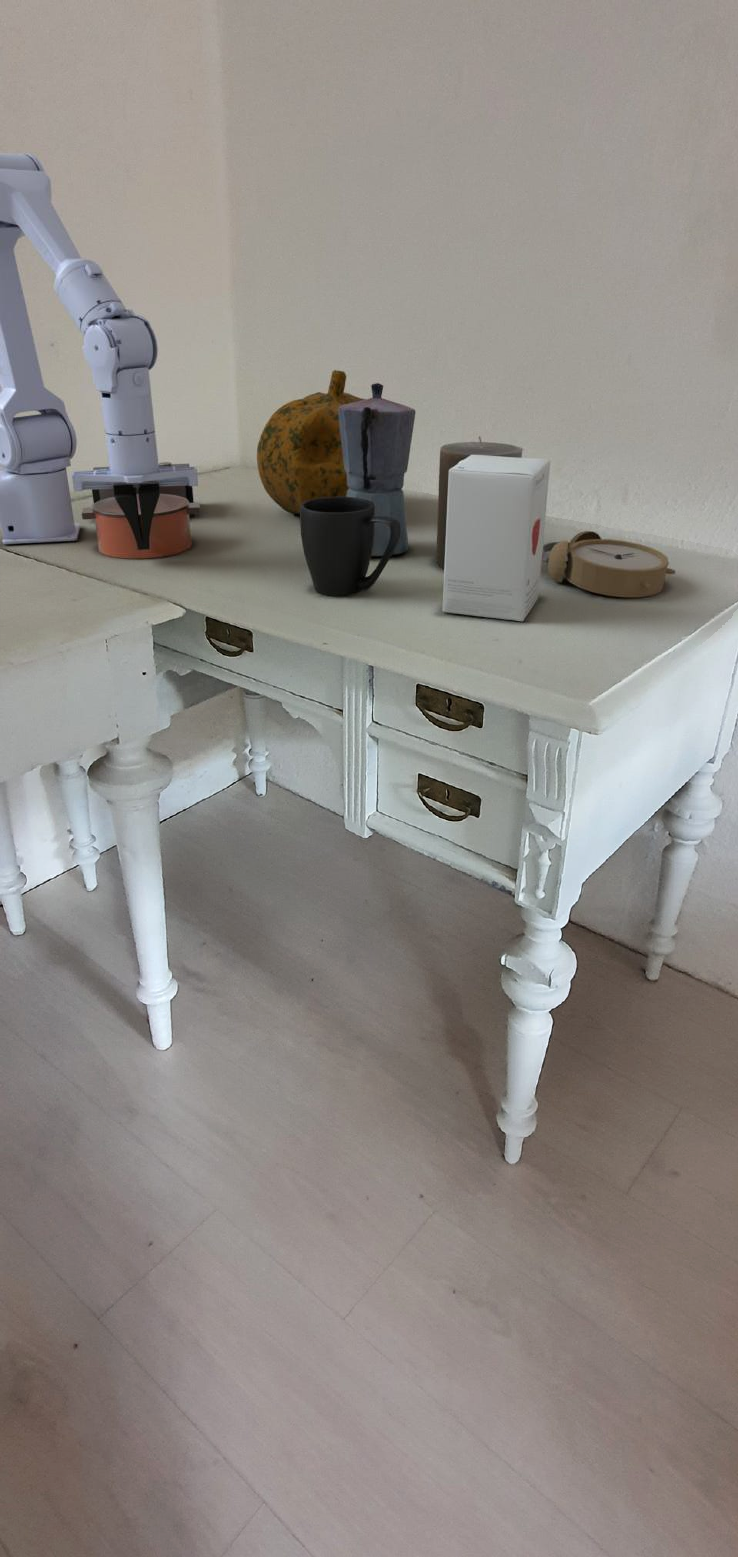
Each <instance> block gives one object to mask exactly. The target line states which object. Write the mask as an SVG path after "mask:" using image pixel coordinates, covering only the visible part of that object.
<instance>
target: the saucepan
mask: <svg viewBox="0 0 738 1557" xmlns="http://www.w3.org/2000/svg"><path fill="white" fill-rule="evenodd" d="M137 503H138V513H139V520H140V525H141V530H142V518H141V510H140V503H139V495H138V494H137ZM189 514H195V515H197V514H199V515H200V514H201V506H200V502H194V503H189V501H188V500H187V499H186V498H184V497H180V496H176V495H169V494H160V495H159V499H158V502H157V505H156V508H155V511H154V515H153V519H152V523H151V529H150V537H149V544H150V549H145V550H138V548H137V543H136V540H135V537H134V534H133V531H132V529H131V527H130V524H129V522H128V520H127V518H126V516H125V515H124V513H123V511H122V509H121V508H120V506H119V505H118V503H117V501H116V499H115V497H111V498H107V499H103V500H100V501H98V502H96V503H94V502H93V503H92V506H91V507H83V508H82V511H81V519H82V520H94V524H95V525H94V526H95V532H96V538H97V546H98V551H99V552H100V553H101V554H102V555H105V556H108V557H112V558H116V559H117V558H118V559H129V560H131V559H135V560H137V559H138V560H139V559H140V560H141V559H153V558H162V557H167V556H168V557H169V556H172V555H177V554H180V553H182V552H185V551H187V550H189V549H190V548H191V547H192V545H193V541H192V540H193V539H192V530H191V519H190V517H189ZM142 535H143V534H142Z"/></svg>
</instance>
